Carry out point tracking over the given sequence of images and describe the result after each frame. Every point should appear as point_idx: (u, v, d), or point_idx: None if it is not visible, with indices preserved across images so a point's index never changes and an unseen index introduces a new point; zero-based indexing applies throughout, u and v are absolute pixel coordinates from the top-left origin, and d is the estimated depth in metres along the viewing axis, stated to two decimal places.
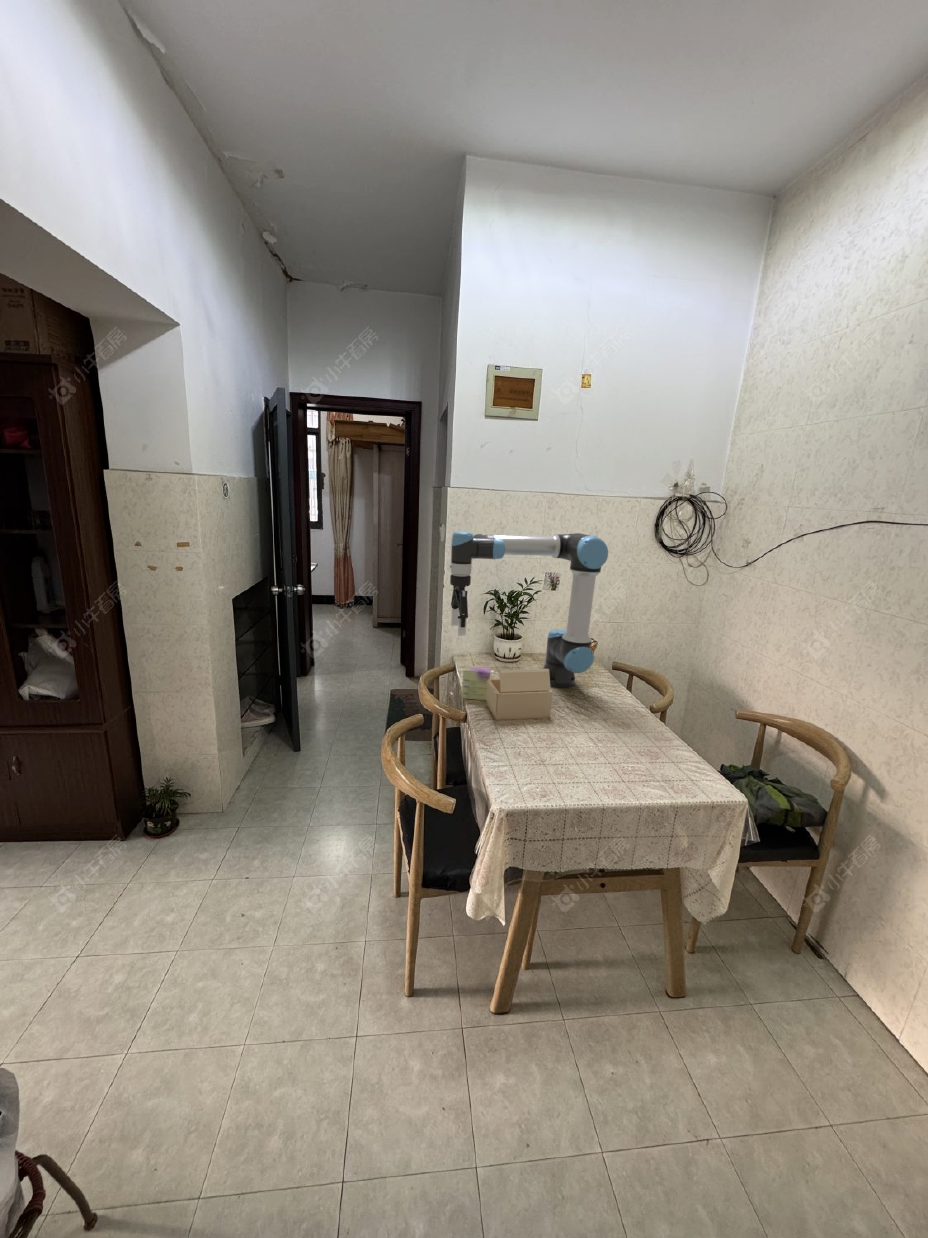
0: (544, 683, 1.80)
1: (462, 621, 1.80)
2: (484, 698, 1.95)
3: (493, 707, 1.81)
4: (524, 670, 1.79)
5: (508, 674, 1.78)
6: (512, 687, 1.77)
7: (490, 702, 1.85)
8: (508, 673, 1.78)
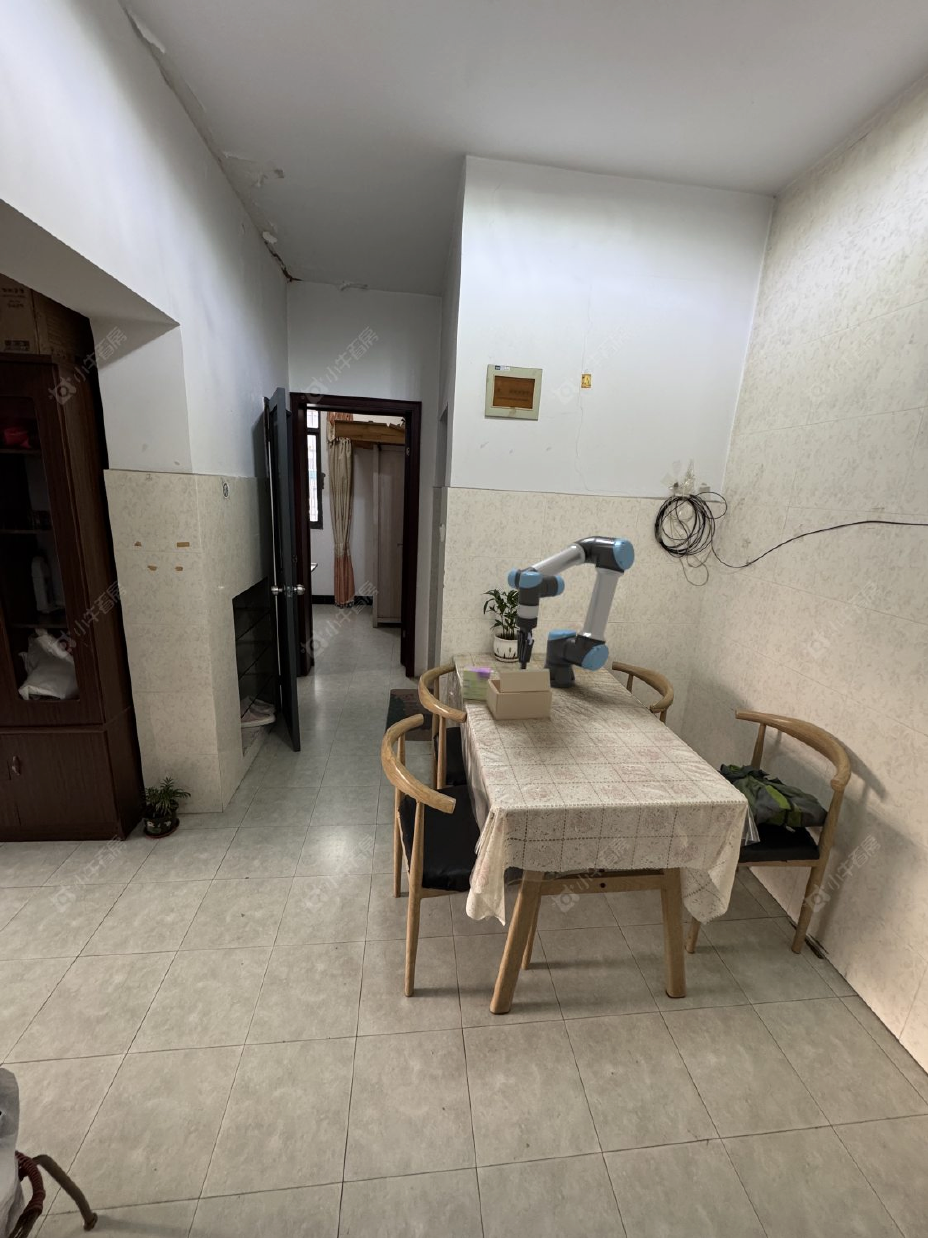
0: (544, 683, 1.80)
1: (523, 665, 1.79)
2: (484, 698, 1.95)
3: (493, 707, 1.81)
4: (524, 670, 1.79)
5: (508, 674, 1.78)
6: (512, 687, 1.77)
7: (490, 702, 1.85)
8: (508, 673, 1.78)
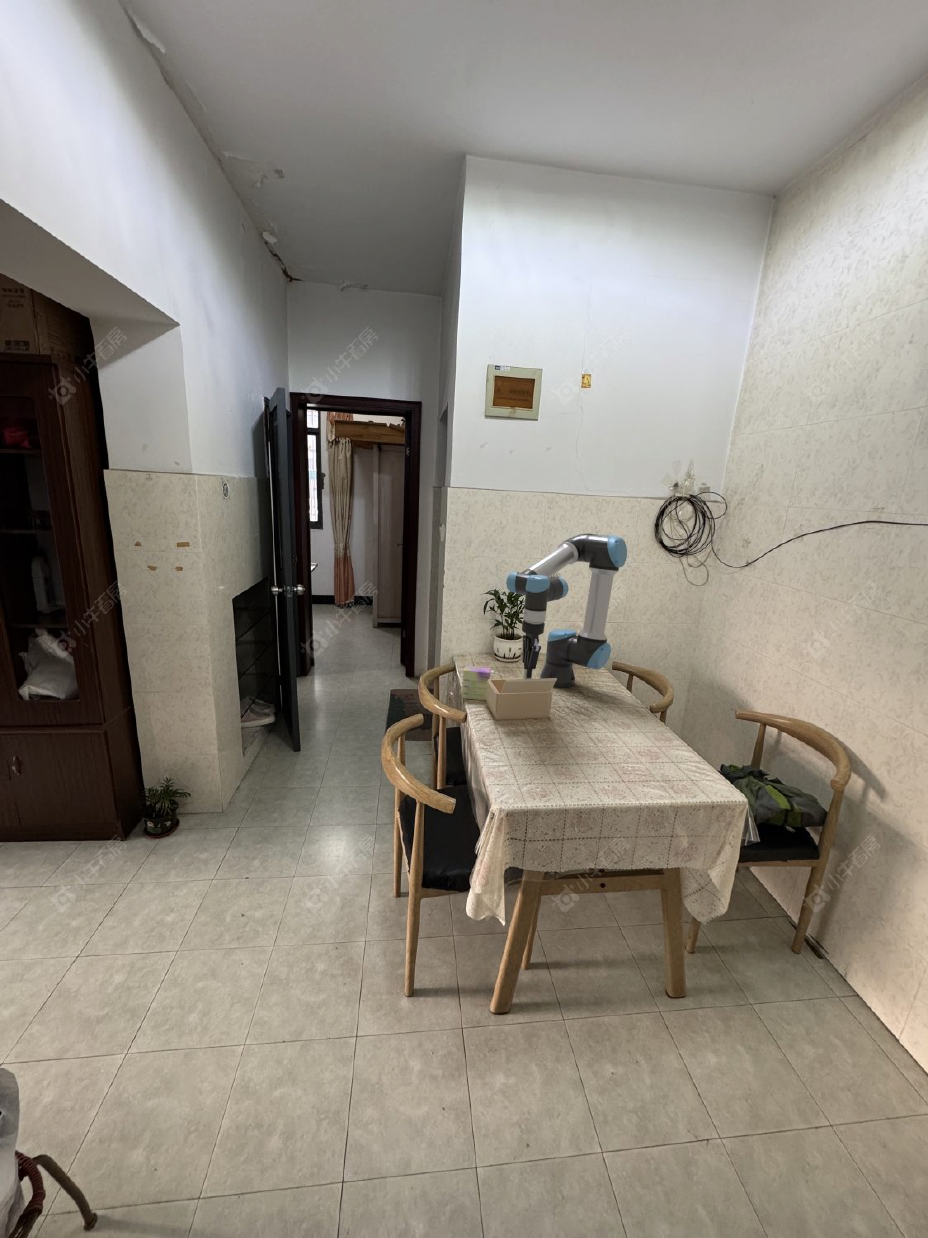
0: (547, 687, 1.77)
1: (529, 672, 1.73)
2: (484, 698, 1.95)
3: (493, 707, 1.81)
4: (531, 680, 1.72)
5: (513, 682, 1.72)
6: (513, 690, 1.76)
7: (490, 702, 1.85)
8: (514, 682, 1.72)
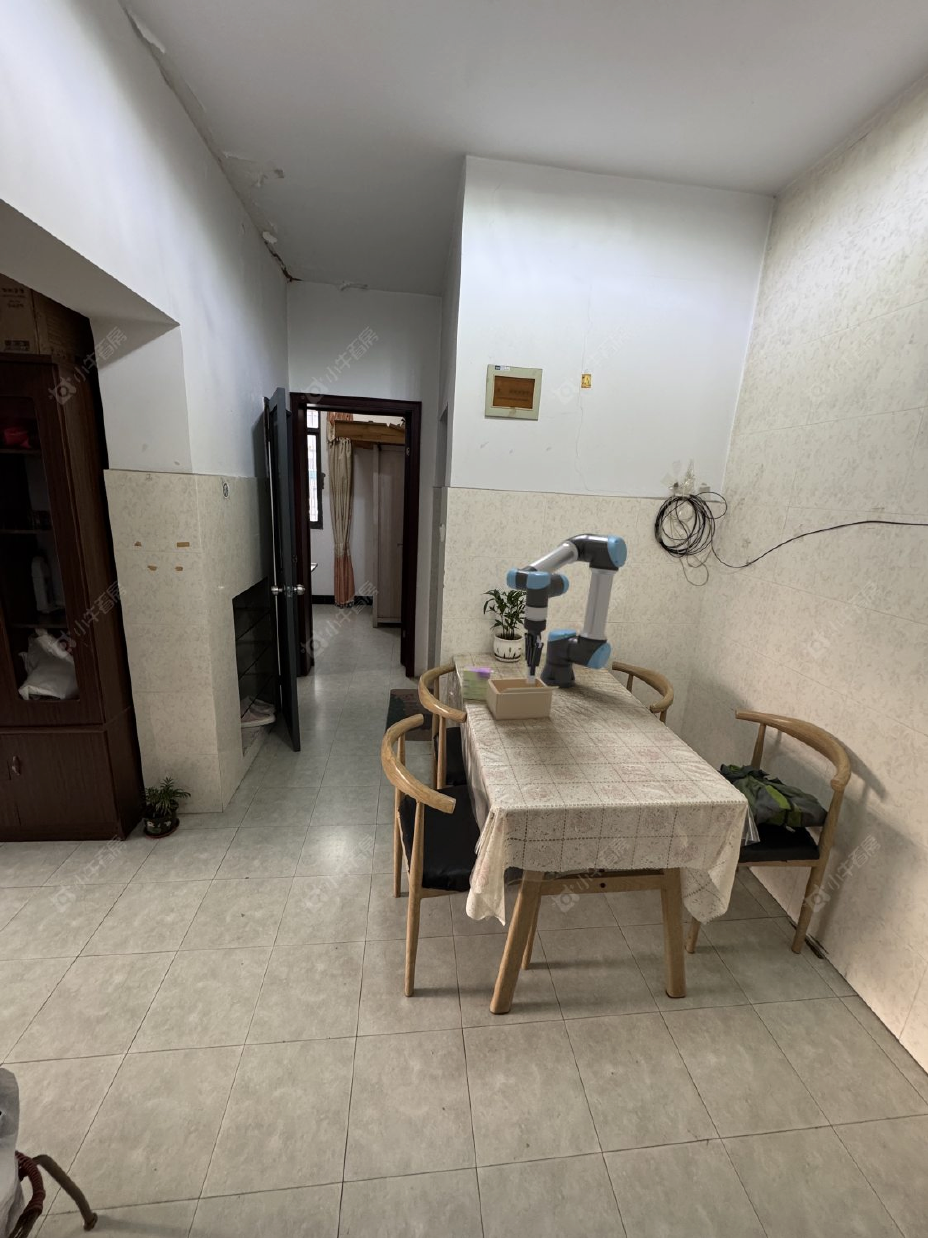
0: (547, 690, 1.77)
1: (532, 669, 1.71)
2: (484, 698, 1.95)
3: (493, 707, 1.81)
4: (533, 688, 1.71)
5: (514, 689, 1.71)
6: (514, 692, 1.75)
7: (490, 702, 1.85)
8: (515, 689, 1.71)
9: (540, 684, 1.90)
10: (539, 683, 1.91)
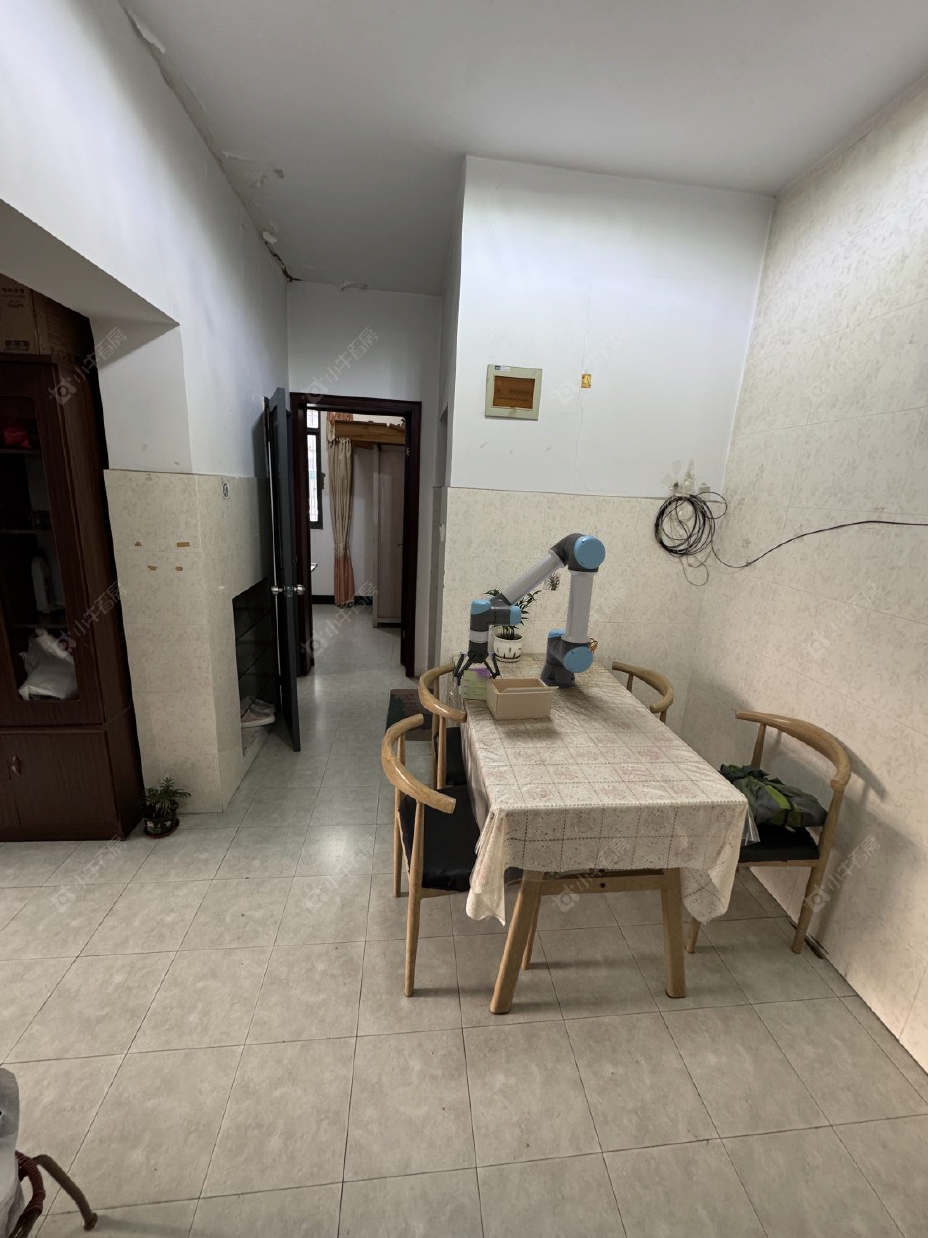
0: (547, 690, 1.77)
1: (457, 679, 1.95)
2: (484, 698, 1.95)
3: (493, 707, 1.81)
4: (533, 688, 1.71)
5: (514, 690, 1.71)
6: (514, 692, 1.75)
7: (490, 702, 1.85)
8: (515, 689, 1.71)
9: (540, 684, 1.90)
10: (539, 683, 1.91)
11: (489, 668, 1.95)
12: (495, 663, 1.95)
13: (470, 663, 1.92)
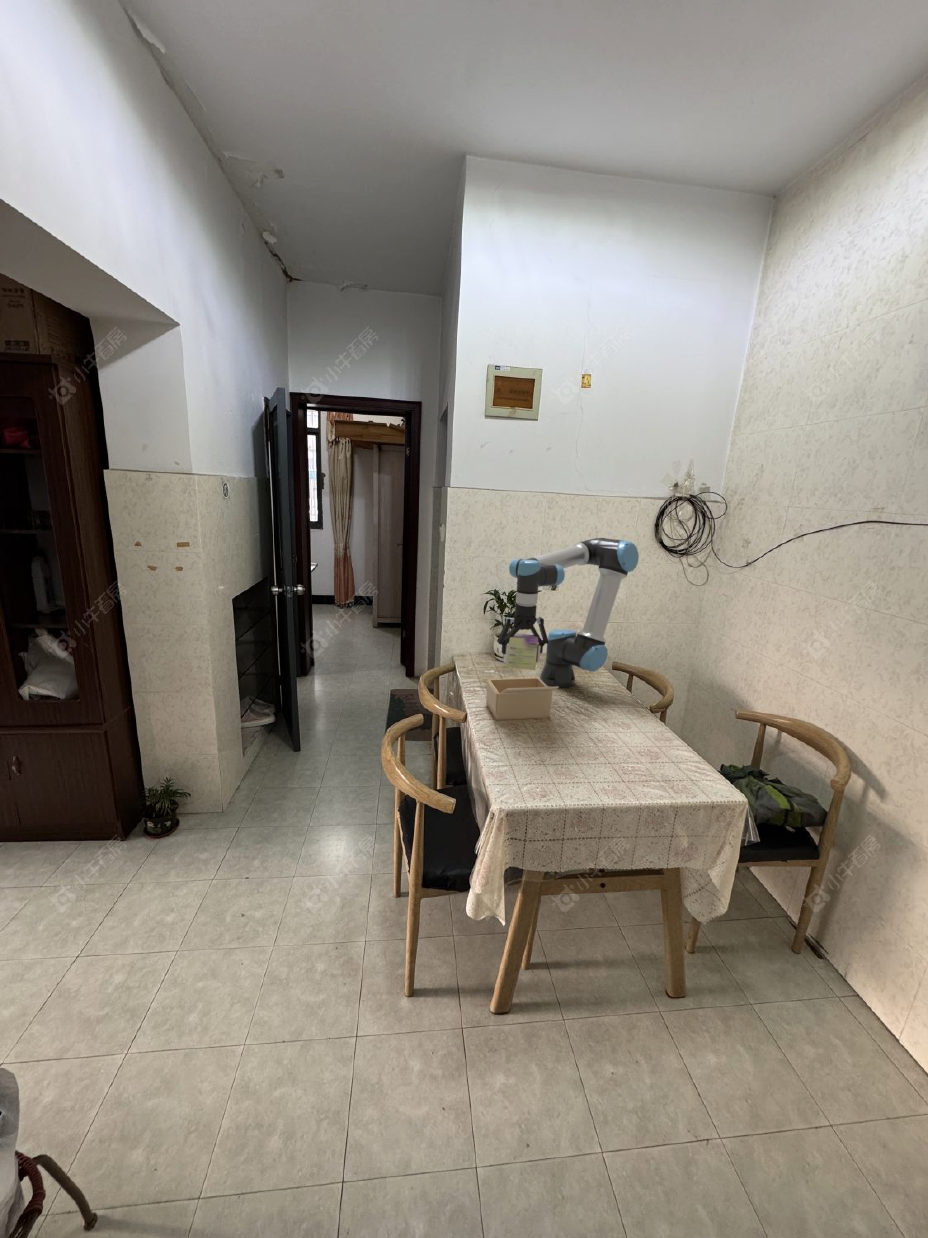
0: (547, 690, 1.77)
1: (502, 647, 1.80)
2: (531, 667, 1.80)
3: (493, 707, 1.81)
4: (533, 688, 1.71)
5: (514, 690, 1.71)
6: (514, 692, 1.75)
7: (490, 702, 1.85)
8: (515, 689, 1.71)
9: (540, 684, 1.90)
10: (539, 683, 1.91)
11: (537, 635, 1.80)
12: (543, 629, 1.80)
13: (517, 629, 1.77)
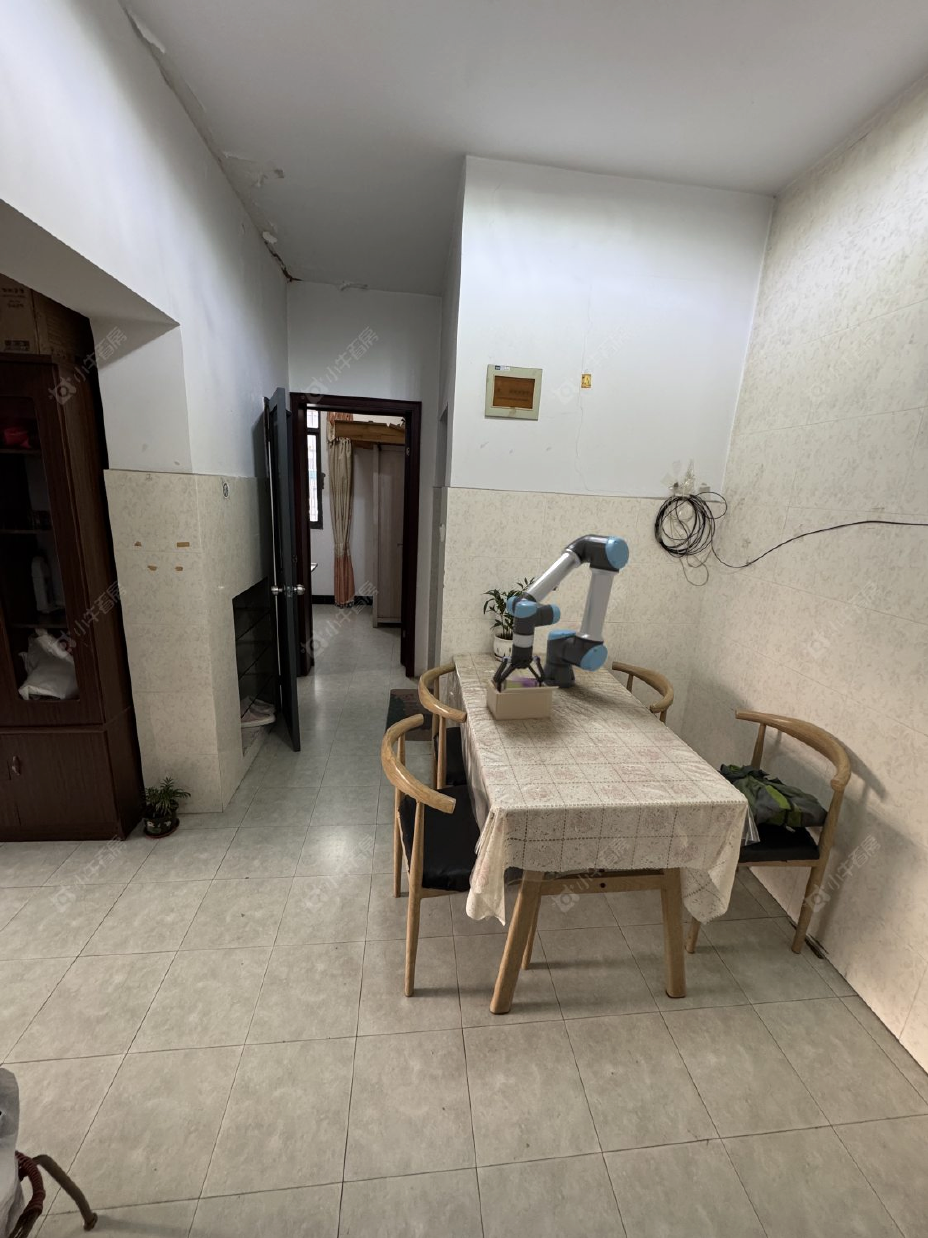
0: (547, 690, 1.77)
1: (497, 684, 1.84)
2: None
3: (493, 707, 1.81)
4: (533, 688, 1.71)
5: (514, 690, 1.71)
6: (514, 692, 1.75)
7: (490, 702, 1.85)
8: (515, 689, 1.71)
9: None
10: None
11: (534, 673, 1.84)
12: (540, 668, 1.84)
13: (513, 668, 1.81)
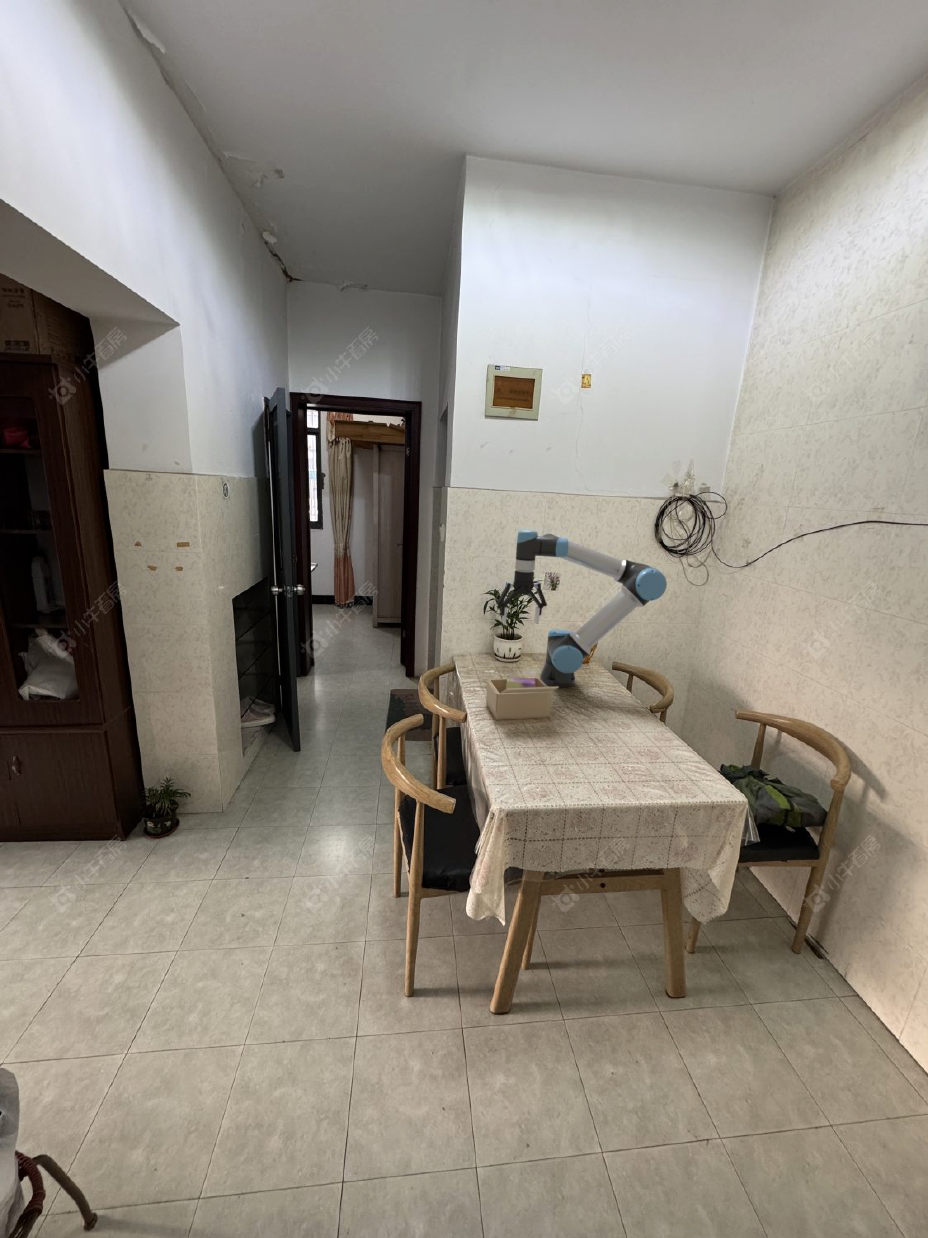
0: (547, 690, 1.77)
1: (501, 609, 1.97)
2: None
3: (493, 707, 1.81)
4: (533, 688, 1.71)
5: (514, 690, 1.71)
6: (514, 692, 1.75)
7: (490, 702, 1.85)
8: (515, 689, 1.71)
9: (540, 684, 1.90)
10: (539, 683, 1.91)
11: (535, 598, 1.97)
12: (541, 593, 1.97)
13: (515, 593, 1.94)
